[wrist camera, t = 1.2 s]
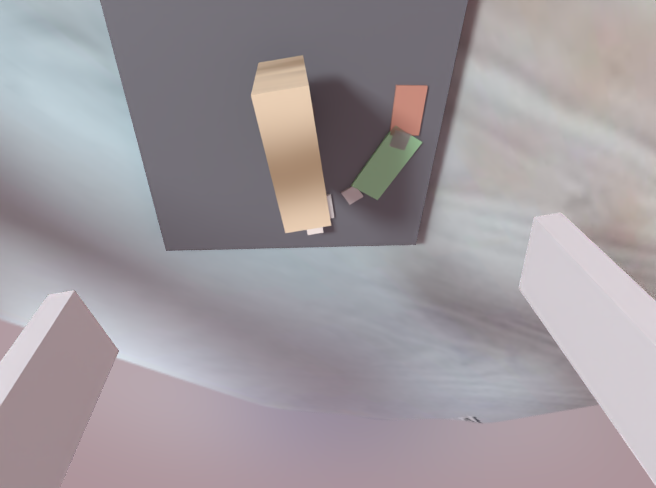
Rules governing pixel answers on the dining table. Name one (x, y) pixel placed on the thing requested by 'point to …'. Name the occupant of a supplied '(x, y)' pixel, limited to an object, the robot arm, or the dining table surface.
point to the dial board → (328, 98)
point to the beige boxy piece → (291, 143)
